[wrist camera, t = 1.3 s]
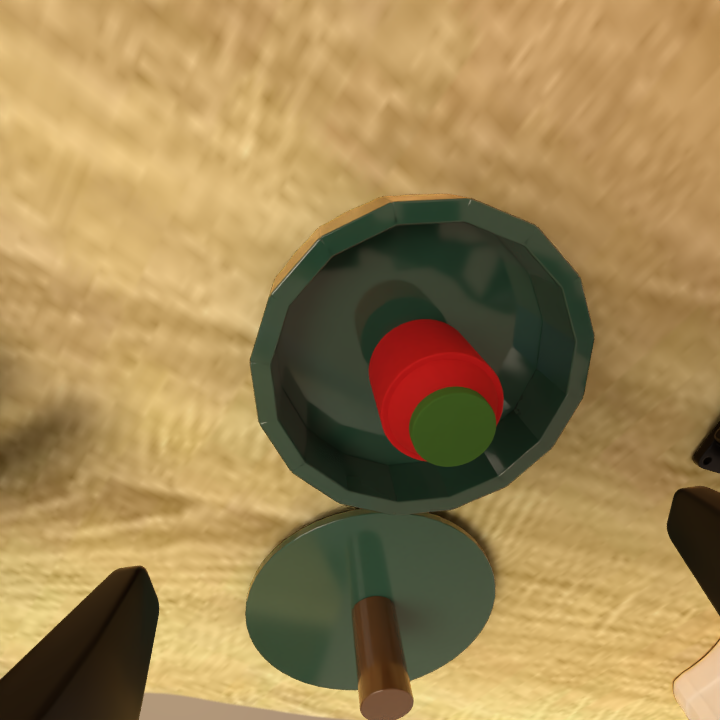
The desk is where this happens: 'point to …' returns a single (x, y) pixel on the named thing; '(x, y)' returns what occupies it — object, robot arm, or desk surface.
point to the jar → (700, 688)
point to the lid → (370, 604)
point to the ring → (407, 303)
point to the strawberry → (434, 393)
